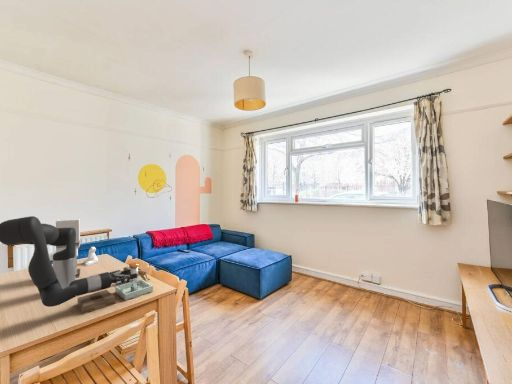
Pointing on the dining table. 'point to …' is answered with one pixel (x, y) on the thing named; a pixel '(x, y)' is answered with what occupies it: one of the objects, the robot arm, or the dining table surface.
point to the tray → (126, 294)
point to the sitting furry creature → (91, 257)
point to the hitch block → (96, 301)
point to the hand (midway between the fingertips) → (133, 273)
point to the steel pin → (134, 281)
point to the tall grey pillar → (76, 226)
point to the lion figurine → (140, 273)
